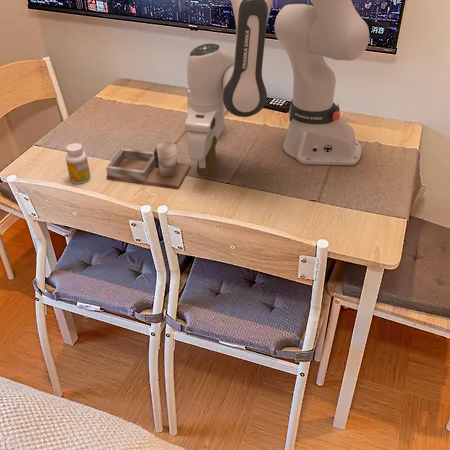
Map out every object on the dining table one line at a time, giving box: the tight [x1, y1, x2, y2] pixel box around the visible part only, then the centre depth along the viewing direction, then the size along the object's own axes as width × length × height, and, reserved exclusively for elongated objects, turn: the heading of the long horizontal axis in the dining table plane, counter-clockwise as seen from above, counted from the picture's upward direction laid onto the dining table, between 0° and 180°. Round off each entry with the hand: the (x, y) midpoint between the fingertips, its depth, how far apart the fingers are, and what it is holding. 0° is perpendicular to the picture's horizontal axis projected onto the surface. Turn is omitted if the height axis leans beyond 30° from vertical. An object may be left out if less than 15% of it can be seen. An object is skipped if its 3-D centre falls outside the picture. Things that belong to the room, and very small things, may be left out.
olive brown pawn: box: [196, 136, 220, 178], centre depth 141 cm, size 6×6×11 cm
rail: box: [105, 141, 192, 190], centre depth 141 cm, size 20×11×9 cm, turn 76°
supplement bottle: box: [65, 142, 91, 185], centre depth 138 cm, size 5×5×10 cm
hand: (207, 157), depth 142 cm, fingers open, 8 cm apart
